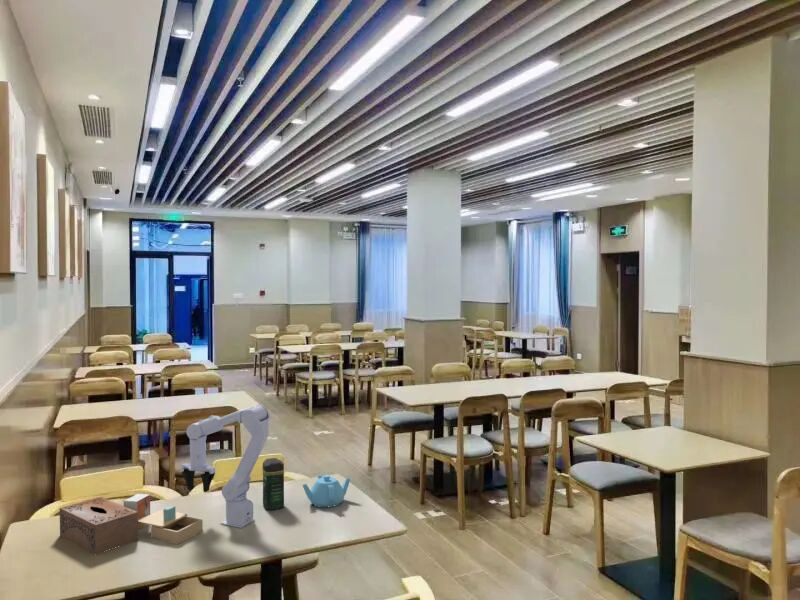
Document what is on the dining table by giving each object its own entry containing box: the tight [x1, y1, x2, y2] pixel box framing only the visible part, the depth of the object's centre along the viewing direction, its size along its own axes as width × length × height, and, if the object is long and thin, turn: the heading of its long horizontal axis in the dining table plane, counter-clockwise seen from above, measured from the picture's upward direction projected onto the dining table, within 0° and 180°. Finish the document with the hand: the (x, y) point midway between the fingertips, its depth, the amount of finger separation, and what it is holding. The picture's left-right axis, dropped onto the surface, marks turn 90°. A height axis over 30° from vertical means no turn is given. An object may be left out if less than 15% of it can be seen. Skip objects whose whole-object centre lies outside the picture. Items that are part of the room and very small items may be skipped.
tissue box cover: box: [59, 496, 139, 556], centre depth 207 cm, size 26×14×10 cm, turn 53°
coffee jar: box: [262, 457, 285, 510], centre depth 237 cm, size 10×8×19 cm
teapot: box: [302, 474, 351, 508], centre depth 241 cm, size 15×15×11 cm
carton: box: [150, 515, 204, 545], centre depth 210 cm, size 12×12×4 cm
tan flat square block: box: [138, 505, 188, 528], centre depth 212 cm, size 12×12×5 cm
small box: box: [123, 493, 151, 531], centre depth 217 cm, size 8×6×10 cm
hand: (198, 490), depth 225 cm, fingers open, 7 cm apart
